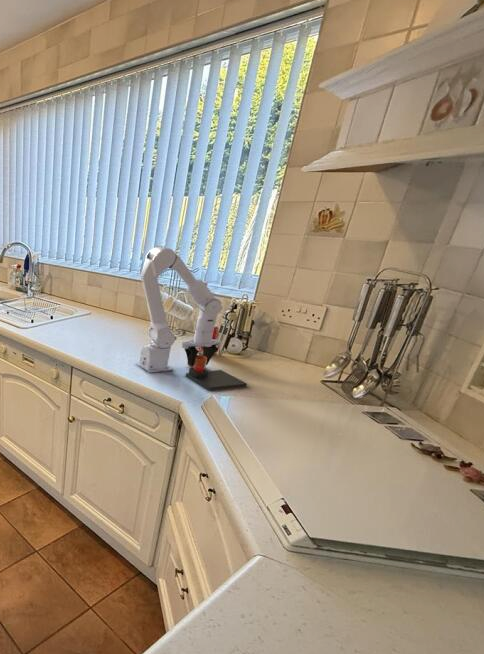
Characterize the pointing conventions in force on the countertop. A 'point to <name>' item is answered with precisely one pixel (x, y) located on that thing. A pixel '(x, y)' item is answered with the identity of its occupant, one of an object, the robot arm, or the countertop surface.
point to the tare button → (198, 368)
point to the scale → (215, 379)
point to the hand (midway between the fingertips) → (197, 364)
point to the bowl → (200, 361)
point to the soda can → (215, 335)
